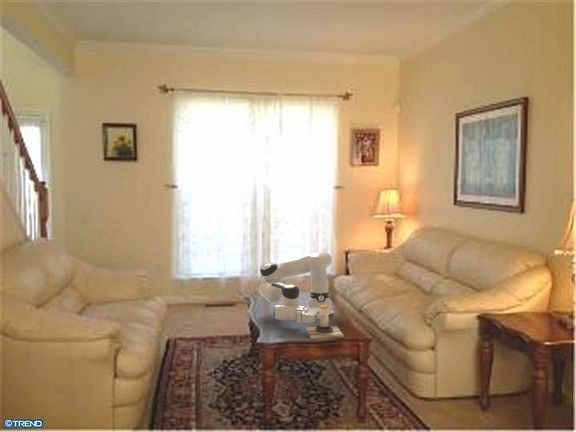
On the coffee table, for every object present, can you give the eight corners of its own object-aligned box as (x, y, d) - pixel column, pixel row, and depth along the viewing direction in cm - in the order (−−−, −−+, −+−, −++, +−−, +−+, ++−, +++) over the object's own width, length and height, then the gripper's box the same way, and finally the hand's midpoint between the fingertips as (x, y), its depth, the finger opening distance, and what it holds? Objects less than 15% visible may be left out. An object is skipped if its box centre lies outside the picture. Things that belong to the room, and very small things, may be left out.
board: (305, 329, 300) (305, 323, 300) (336, 328, 302) (337, 323, 302) (310, 338, 282) (310, 332, 282) (343, 337, 284) (343, 331, 284)
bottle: (318, 324, 294) (318, 305, 293) (327, 324, 295) (327, 304, 294) (320, 327, 289) (320, 307, 288) (329, 327, 290) (329, 306, 289)
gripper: (305, 314, 305) (328, 316, 302) (297, 323, 285) (322, 325, 282) (305, 304, 304) (328, 305, 301) (297, 312, 285) (322, 314, 281)
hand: (325, 315), depth 291 cm, fingers closed on bottle, 5 cm apart
